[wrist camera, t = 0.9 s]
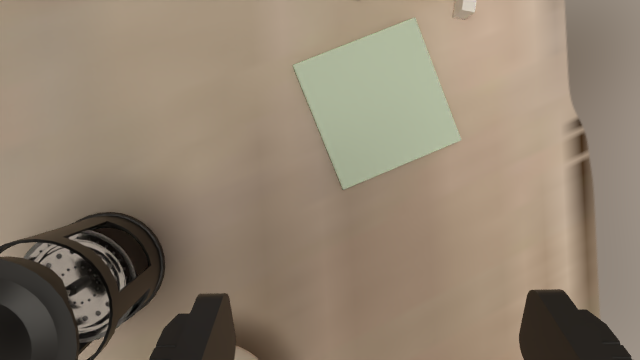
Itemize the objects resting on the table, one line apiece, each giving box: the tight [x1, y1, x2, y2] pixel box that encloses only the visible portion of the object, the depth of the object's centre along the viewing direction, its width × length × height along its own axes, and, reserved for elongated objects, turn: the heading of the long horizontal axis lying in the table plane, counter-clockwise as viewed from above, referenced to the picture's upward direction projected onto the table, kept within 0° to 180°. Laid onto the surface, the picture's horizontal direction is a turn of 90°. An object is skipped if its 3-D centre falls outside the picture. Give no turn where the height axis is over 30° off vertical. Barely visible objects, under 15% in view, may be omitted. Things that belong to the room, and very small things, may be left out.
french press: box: [0, 212, 165, 360], centre depth 26 cm, size 12×9×23 cm
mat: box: [293, 18, 461, 190], centre depth 39 cm, size 12×12×1 cm
